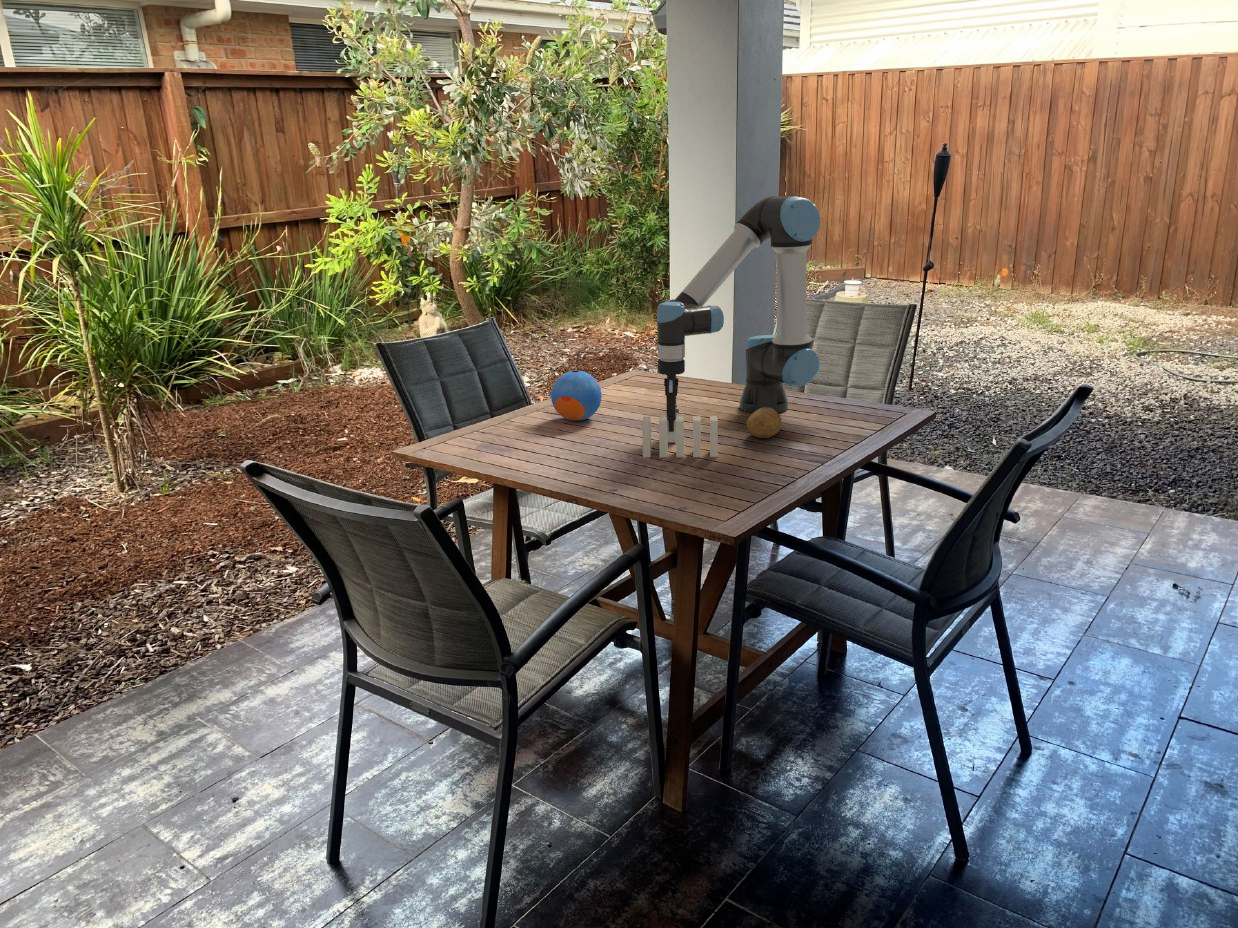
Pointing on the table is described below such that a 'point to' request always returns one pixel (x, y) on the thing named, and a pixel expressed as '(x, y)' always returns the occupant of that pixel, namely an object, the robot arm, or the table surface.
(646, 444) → the domino
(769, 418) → the potato
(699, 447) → the domino
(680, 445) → the domino
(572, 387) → the treat dispenser ball
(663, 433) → the domino
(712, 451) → the domino
